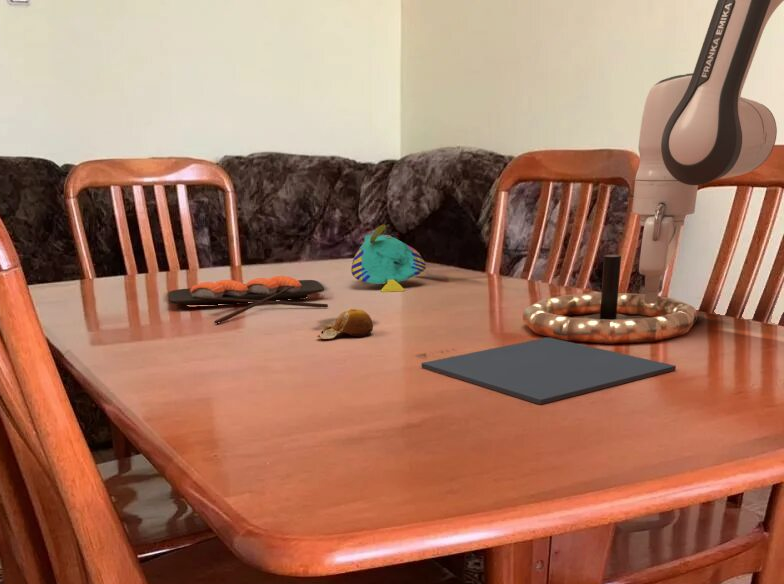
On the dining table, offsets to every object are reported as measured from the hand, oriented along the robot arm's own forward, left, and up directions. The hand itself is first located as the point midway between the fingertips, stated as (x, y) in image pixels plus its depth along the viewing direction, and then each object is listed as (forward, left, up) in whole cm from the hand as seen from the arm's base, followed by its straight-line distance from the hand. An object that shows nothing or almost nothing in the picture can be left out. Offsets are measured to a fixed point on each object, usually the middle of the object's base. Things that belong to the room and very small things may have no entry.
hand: (653, 297), depth 127 cm
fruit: (+42, -24, -3) cm, 48 cm away
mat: (+34, +12, -3) cm, 36 cm away
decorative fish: (+10, -59, -3) cm, 60 cm away
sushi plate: (+42, -57, -3) cm, 71 cm away
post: (+10, 0, -3) cm, 10 cm away
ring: (+10, 0, -2) cm, 10 cm away
